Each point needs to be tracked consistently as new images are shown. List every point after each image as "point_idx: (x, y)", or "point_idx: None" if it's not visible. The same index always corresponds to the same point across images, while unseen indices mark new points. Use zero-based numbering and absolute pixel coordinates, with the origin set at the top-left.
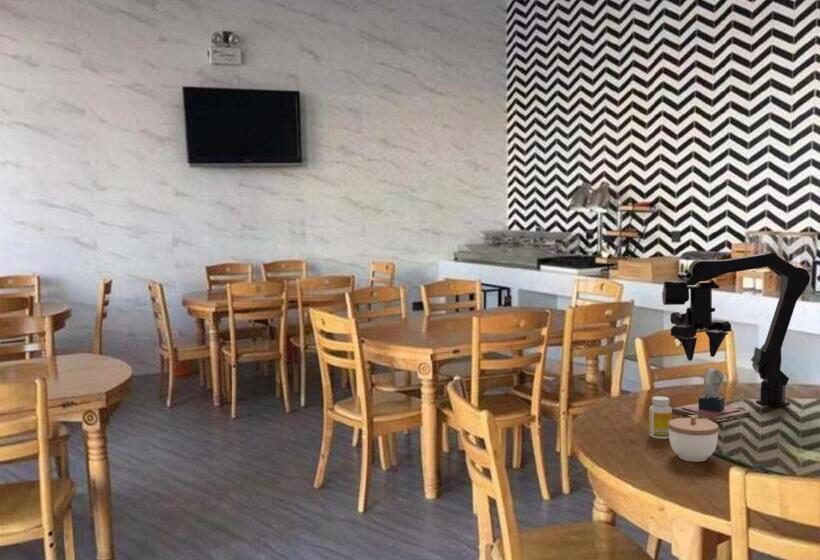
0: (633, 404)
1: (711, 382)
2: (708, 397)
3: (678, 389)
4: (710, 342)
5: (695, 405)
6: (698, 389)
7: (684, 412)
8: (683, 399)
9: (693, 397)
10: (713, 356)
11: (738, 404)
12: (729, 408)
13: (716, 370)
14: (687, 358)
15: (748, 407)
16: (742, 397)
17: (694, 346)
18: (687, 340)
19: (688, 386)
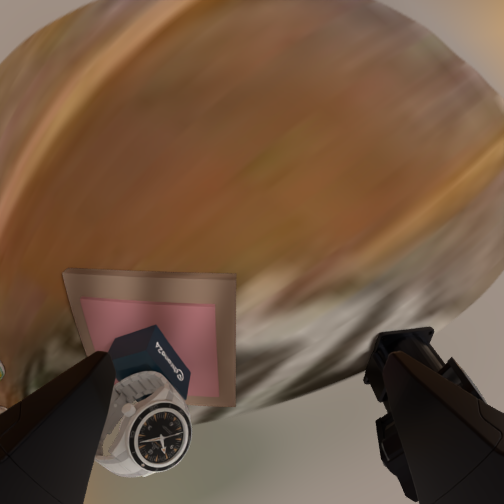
0: (28, 128)
1: (100, 442)
2: (146, 367)
3: (356, 36)
4: (458, 437)
5: (133, 308)
6: (416, 92)
7: (75, 317)
8: (227, 157)
9: (293, 158)
10: (384, 375)
11: (326, 321)
12: (203, 380)
13: (138, 470)
14: (88, 356)
15: (314, 355)
16: (418, 268)
17: (74, 495)
18: (9, 500)
19: (420, 44)
